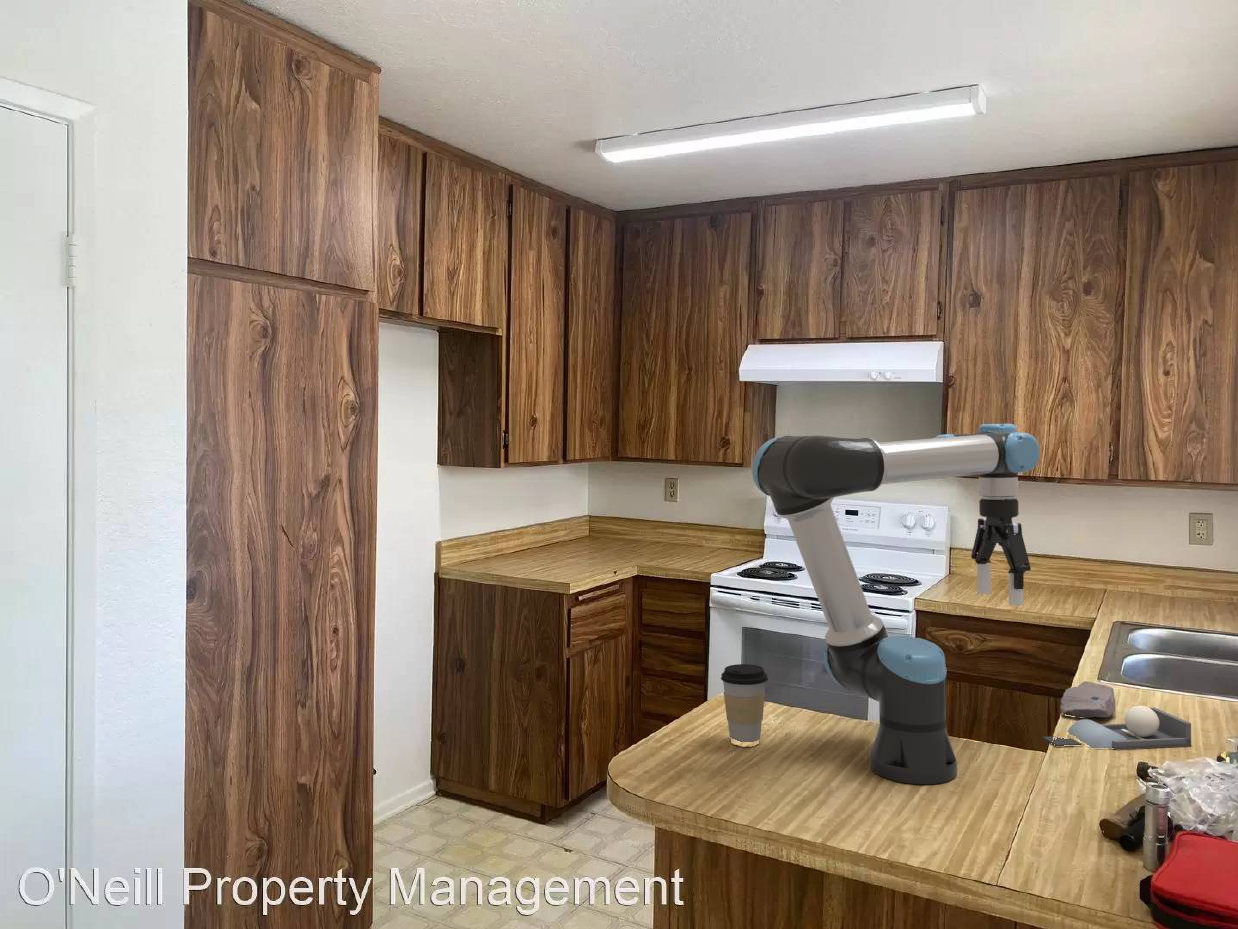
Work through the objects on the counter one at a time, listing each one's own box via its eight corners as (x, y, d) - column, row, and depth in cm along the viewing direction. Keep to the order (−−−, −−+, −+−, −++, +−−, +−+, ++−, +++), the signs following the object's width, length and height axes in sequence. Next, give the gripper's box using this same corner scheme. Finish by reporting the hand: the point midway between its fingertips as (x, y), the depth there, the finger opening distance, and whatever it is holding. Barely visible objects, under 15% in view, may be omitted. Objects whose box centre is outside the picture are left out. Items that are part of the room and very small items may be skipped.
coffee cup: (719, 749, 180) (717, 673, 179) (725, 734, 189) (723, 662, 189) (767, 752, 177) (766, 675, 177) (770, 736, 187) (769, 664, 186)
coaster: (1056, 747, 177) (1056, 745, 177) (1042, 739, 182) (1042, 736, 182) (1081, 746, 177) (1081, 743, 177) (1066, 738, 182) (1066, 735, 182)
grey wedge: (1132, 773, 176) (1131, 732, 176) (1092, 775, 175) (1092, 734, 175) (1103, 757, 185) (1103, 718, 185) (1066, 759, 184) (1065, 720, 184)
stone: (1104, 726, 189) (1104, 697, 189) (1057, 717, 196) (1057, 689, 196) (1124, 713, 199) (1124, 686, 199) (1078, 705, 206) (1078, 679, 206)
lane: (1114, 750, 175) (1114, 726, 175) (1082, 732, 185) (1082, 710, 185) (1191, 746, 176) (1191, 723, 176) (1154, 729, 186) (1154, 707, 186)
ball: (1157, 704, 177) (1171, 730, 178) (1137, 696, 183) (1151, 721, 184) (1131, 721, 177) (1146, 746, 178) (1112, 711, 183) (1126, 737, 183)
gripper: (1048, 500, 177) (1049, 609, 178) (987, 494, 202) (988, 589, 202) (1011, 501, 177) (1012, 610, 177) (954, 495, 201) (955, 590, 202)
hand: (999, 599), depth 190 cm, fingers open, 13 cm apart
